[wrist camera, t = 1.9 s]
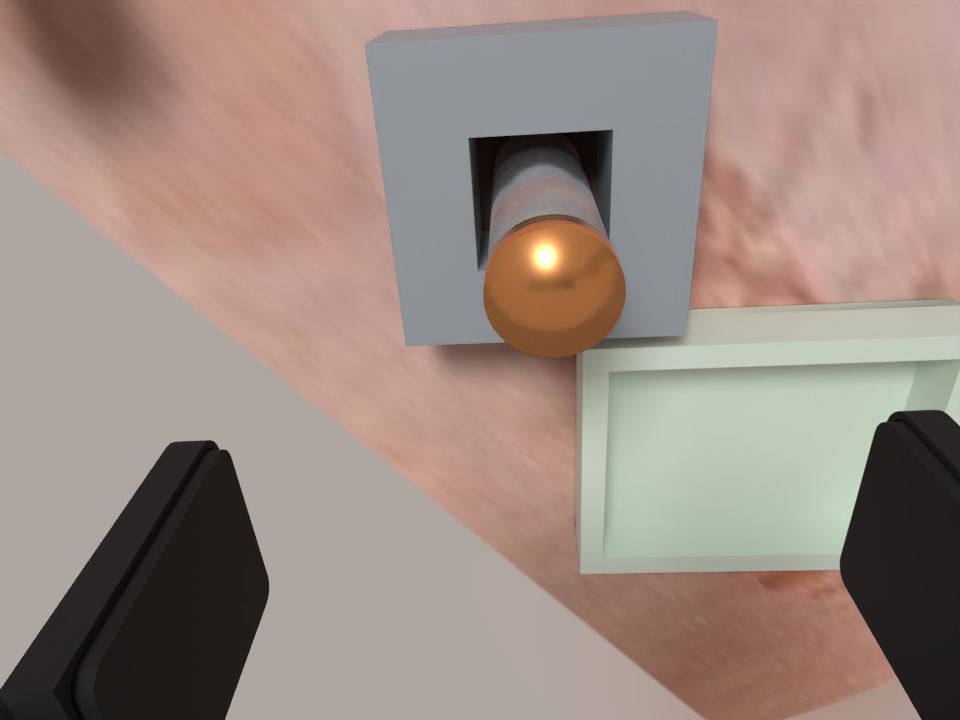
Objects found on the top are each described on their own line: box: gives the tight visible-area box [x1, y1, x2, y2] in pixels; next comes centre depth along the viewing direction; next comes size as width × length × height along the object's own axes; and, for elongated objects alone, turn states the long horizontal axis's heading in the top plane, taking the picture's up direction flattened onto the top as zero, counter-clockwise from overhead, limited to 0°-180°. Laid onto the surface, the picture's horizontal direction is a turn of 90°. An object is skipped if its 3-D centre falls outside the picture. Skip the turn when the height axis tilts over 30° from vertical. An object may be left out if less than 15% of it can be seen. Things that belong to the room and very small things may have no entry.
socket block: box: [365, 11, 718, 346], centre depth 24 cm, size 10×10×4 cm
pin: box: [483, 133, 626, 358], centre depth 21 cm, size 3×3×11 cm
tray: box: [575, 299, 960, 574], centre depth 29 cm, size 15×12×3 cm
